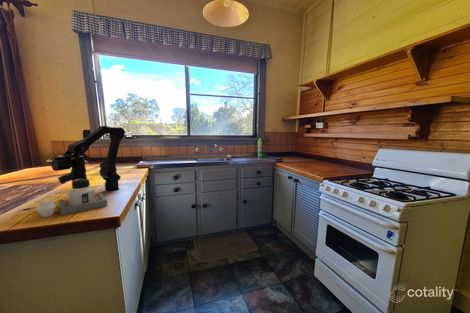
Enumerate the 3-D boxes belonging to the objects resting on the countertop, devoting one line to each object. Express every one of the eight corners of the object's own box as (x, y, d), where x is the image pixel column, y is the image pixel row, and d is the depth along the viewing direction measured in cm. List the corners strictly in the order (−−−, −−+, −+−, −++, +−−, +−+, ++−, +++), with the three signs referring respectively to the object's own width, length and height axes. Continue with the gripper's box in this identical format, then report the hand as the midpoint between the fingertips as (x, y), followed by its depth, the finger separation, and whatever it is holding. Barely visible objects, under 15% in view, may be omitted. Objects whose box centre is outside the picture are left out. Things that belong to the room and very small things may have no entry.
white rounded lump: (60, 212, 87) (59, 197, 86) (48, 218, 81) (46, 202, 80) (46, 212, 87) (44, 197, 86) (33, 218, 81) (30, 202, 80)
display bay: (102, 198, 105) (101, 193, 105) (107, 205, 96) (106, 199, 95) (60, 206, 94) (59, 200, 94) (61, 215, 84) (60, 208, 84)
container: (96, 203, 98) (94, 178, 96) (78, 209, 91) (76, 182, 89) (86, 201, 101) (84, 177, 99) (68, 206, 93) (66, 180, 92)
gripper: (57, 166, 104) (60, 194, 106) (58, 172, 91) (62, 204, 93) (83, 164, 112) (86, 190, 114) (88, 169, 98) (91, 199, 100)
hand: (81, 195), depth 105 cm, fingers closed
